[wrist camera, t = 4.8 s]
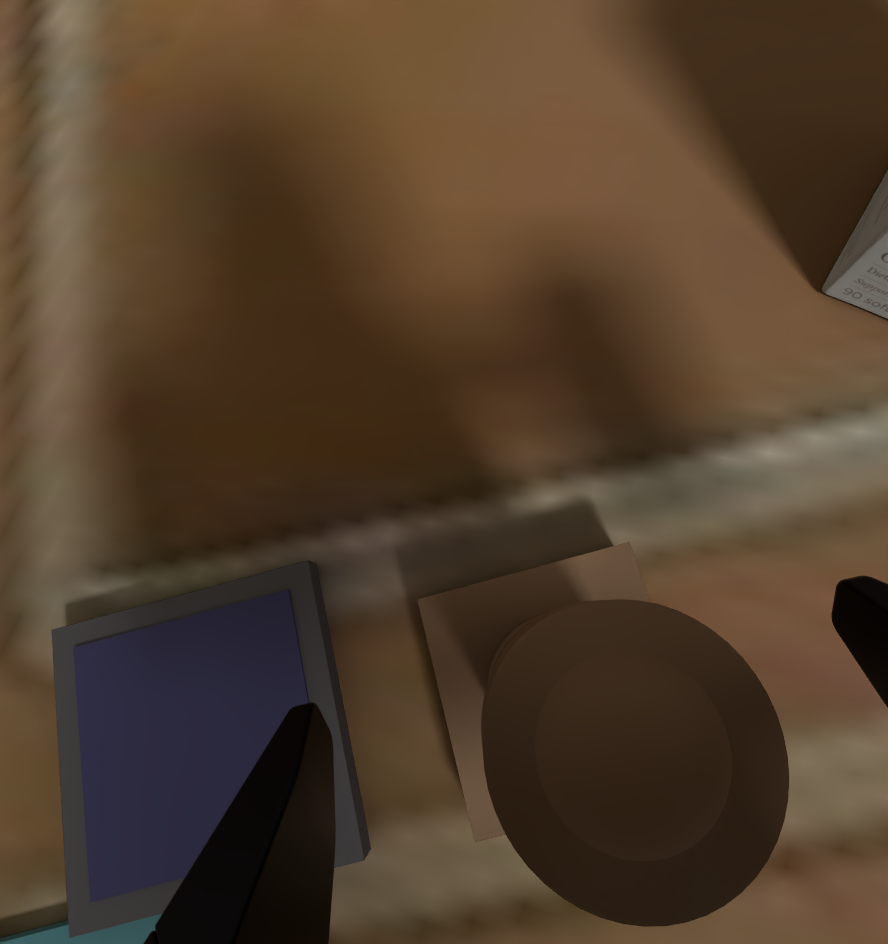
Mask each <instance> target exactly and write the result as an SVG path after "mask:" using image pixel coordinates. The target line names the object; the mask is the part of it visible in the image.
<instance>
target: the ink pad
mask: <svg viewBox="0 0 888 944" xmlns="http://www.w3.org/2000/svg"><path fill="white" fill-rule="evenodd" d="M52 644H53V662H54V680H55V697H56V715H57V732H58V750H59V768H60V785H61V803H62V820H63V838H64V856H65V873H66V891H67V908H68V926H69V938H72V937H75V936H79V935H83V934H87V933H91V932H94V931H98V930H102V929H106V928H109V927H113V926H117V925H121V924H125V923H128V922H132V921H136V920H140V919H143V918H147V917H151V916H155V915H159V914H162V913H163V912H164V910H165V909H166V907H167V905H168V904H169V902H170V901H171V899H172V897H173V896H174V894H175V892H176V891H177V889H178V888H179V886H180V884H181V883H182V881H183V880H184V878H185V876H186V875H187V873H188V872H189V870H190V868H191V867H192V865H193V864H194V862H195V860H196V859H197V857H198V856H199V854H200V852H201V851H202V849H203V847H204V846H205V844H206V843H207V841H208V839H209V838H210V836H211V835H212V833H213V831H214V830H215V828H216V827H217V825H218V823H219V822H220V820H221V819H222V817H223V815H224V814H225V812H226V811H227V809H228V807H229V806H230V804H231V802H232V801H233V799H234V798H235V796H236V794H237V793H238V791H239V790H240V788H241V786H242V785H243V783H244V782H245V780H246V778H247V777H248V775H249V774H250V772H251V770H252V769H253V767H254V766H255V764H256V762H257V761H258V759H259V758H260V756H261V754H262V753H263V751H264V749H265V748H266V746H267V745H268V743H269V741H270V740H271V738H272V737H273V735H274V733H275V732H276V730H277V729H278V727H279V725H280V724H281V722H282V721H283V719H284V717H285V716H286V714H287V713H288V711H289V710H290V709H291V708H292V707H294V706H297V705H302V704H306V703H310V702H314V703H315V704H317V706H318V707H319V709H320V711H321V713H322V715H323V717H324V719H325V721H326V723H327V725H328V727H329V729H330V731H331V735H332V739H333V755H334V788H335V821H336V843H335V860H334V868H336V867H340V866H344V865H348V864H351V863H355V862H359V861H363V860H365V858H366V856H367V854H368V853H369V851H370V849H371V847H370V842H369V836H368V831H367V826H366V821H365V816H364V810H363V805H362V800H361V795H360V789H359V784H358V779H357V774H356V769H355V763H354V758H353V753H352V748H351V743H350V737H349V732H348V727H347V722H346V717H345V711H344V706H343V701H342V696H341V691H340V685H339V680H338V675H337V670H336V665H335V659H334V654H333V649H332V644H331V638H330V633H329V628H328V623H327V618H326V612H325V607H324V602H323V597H322V592H321V586H320V581H319V576H318V571H317V566H316V563H314V562H311V561H304V562H300V563H297V564H293V565H289V566H286V567H282V568H278V569H275V570H271V571H267V572H264V573H260V574H256V575H252V576H249V577H245V578H241V579H238V580H234V581H230V582H227V583H223V584H219V585H216V586H212V587H208V588H205V589H201V590H197V591H194V592H190V593H186V594H182V595H179V596H175V597H171V598H168V599H164V600H160V601H157V602H153V603H149V604H146V605H142V606H138V607H135V608H131V609H127V610H124V611H120V612H116V613H113V614H109V615H105V616H101V617H98V618H94V619H90V620H87V621H83V622H79V623H76V624H72V625H68V626H65V627H61V628H57V629H54V630H52Z"/></svg>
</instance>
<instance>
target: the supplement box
mask: <svg viewBox="0 0 888 944" xmlns="http://www.w3.org/2000/svg"><path fill="white" fill-rule="evenodd" d="M822 292H824V293H825V294H827V295H830V296H832V297H835V298H837V299H840V300H842V301H845V302H848V303H850V304H853V305H856V306H858V307H861V308H863V309H865V310H868V311H870V312H872V313H875V314H877V315H879V316H882V317H884V318H886V319H888V170H887V172H886V174H885V176H884V178H883V179H882V181H881V183H880V185H879V187H878V188H877V190H876V192H875V193H874V195H873V197H872V199H871V201H870V203H869V205H868V206H867V208H866V210H865V212H864V214H863V215H862V217H861V219H860V220H859V222H858V224H857V226H856V228H855V229H854V231H853V233H852V235H851V236H850V238H849V240H848V242H847V244H846V245H845V247H844V249H843V251H842V252H841V254H840V256H839V258H838V260H837V261H836V263H835V265H834V267H833V269H832V270H831V272H830V274H829V276H828V278H827V280H826V281H825V283H824V285H823V288H822Z"/></svg>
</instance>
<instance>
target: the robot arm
mask: <svg viewBox="0 0 888 944" xmlns="http://www.w3.org/2000/svg"><path fill="white" fill-rule="evenodd" d="M832 622H833V625H834V627H835V629H836V631H837V633H838V634H839V636H840V637H841V639H842V640H843V642H844V643H845V645H846V646H847V648H848V649H849V651H850V652H851V654H852V655H853V657H854V658H855V660H856V661H857V663H858V664H859V666H860V667H861V669H862V670H863V672H864V673H865V675H866V676H867V678H868V679H869V681H870V682H871V684H872V685H873V687H874V688H875V690H876V691H877V693H878V694H879V696H880V697H881V699H882V700H883V701H884V703H885V704H886V706H887V707H888V584H887V583H884V582H882V581H879V580H877V579H874V578H872V577H869V576H857V577H853V578H849V579H844V580H841V581H840V582H839V583H838V584H837V586H836V591H835V597H834V603H833V609H832ZM335 843H336V821H335V788H334V755H333V739H332V735H331V731H330V729H329V727H328V725H327V723H326V721H325V719H324V717H323V715H322V713H321V711H320V709H319V707H318V706H317V704H315V703H314V702H310V703H306V704H302V705H297V706H294V707H292V708H291V709H290V710H289V711H288V713H287V714H286V716H285V717H284V719H283V721H282V722H281V724H280V725H279V727H278V729H277V730H276V732H275V733H274V735H273V737H272V738H271V740H270V741H269V743H268V745H267V746H266V748H265V749H264V751H263V753H262V754H261V756H260V758H259V759H258V761H257V762H256V764H255V766H254V767H253V769H252V770H251V772H250V774H249V775H248V777H247V778H246V780H245V782H244V783H243V785H242V786H241V788H240V790H239V791H238V793H237V794H236V796H235V798H234V799H233V801H232V802H231V804H230V806H229V807H228V809H227V811H226V812H225V814H224V815H223V817H222V819H221V820H220V822H219V823H218V825H217V827H216V828H215V830H214V831H213V833H212V835H211V836H210V838H209V839H208V841H207V843H206V844H205V846H204V847H203V849H202V851H201V852H200V854H199V856H198V857H197V859H196V860H195V862H194V864H193V865H192V867H191V868H190V870H189V872H188V873H187V875H186V876H185V878H184V880H183V881H182V883H181V884H180V886H179V888H178V889H177V891H176V892H175V894H174V896H173V897H172V899H171V901H170V902H169V904H168V905H167V907H166V909H165V910H164V912H163V913H162V915H161V917H160V918H159V920H158V921H157V923H156V925H155V931H152V932H151V933H150V934H149V936H148V937H147V939H146V940H145V942H144V944H328V942H329V929H330V915H331V901H332V888H333V874H334V860H335Z"/></svg>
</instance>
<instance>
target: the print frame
mask: <svg viewBox="0 0 888 944" xmlns="http://www.w3.org/2000/svg"><path fill="white" fill-rule="evenodd" d="M161 915H162V914H159V915H155V916H151V917H147V918H143V919H140V920H136V921H132V922H128V923H125V924H121V925H117V926H113V927H109V928H106V929H102V930H98V931H94V932H91V933H87V934H83V935H79V936H75V937H72V938H69V926H68V920H67V921H63V922H59V923H56V924H52V925H48V926H44V927H40V928H37V929H33V930H29V931H25V932H22V933H18V934H14V935H10V936H7V937H3V938H0V944H144V942H145V940H146V939H147V937H148V936H149V934H150V933H151V932H152V931H155V925H156V923H157V921H158V920H159V918H160V917H161Z"/></svg>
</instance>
